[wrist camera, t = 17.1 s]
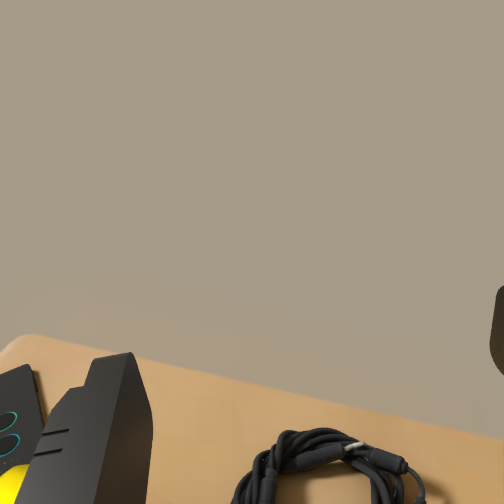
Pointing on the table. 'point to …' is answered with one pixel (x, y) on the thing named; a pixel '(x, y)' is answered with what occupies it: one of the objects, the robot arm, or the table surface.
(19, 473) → the element tile
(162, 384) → the table surface
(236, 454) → the table surface
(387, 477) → the cable
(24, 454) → the smart home device
